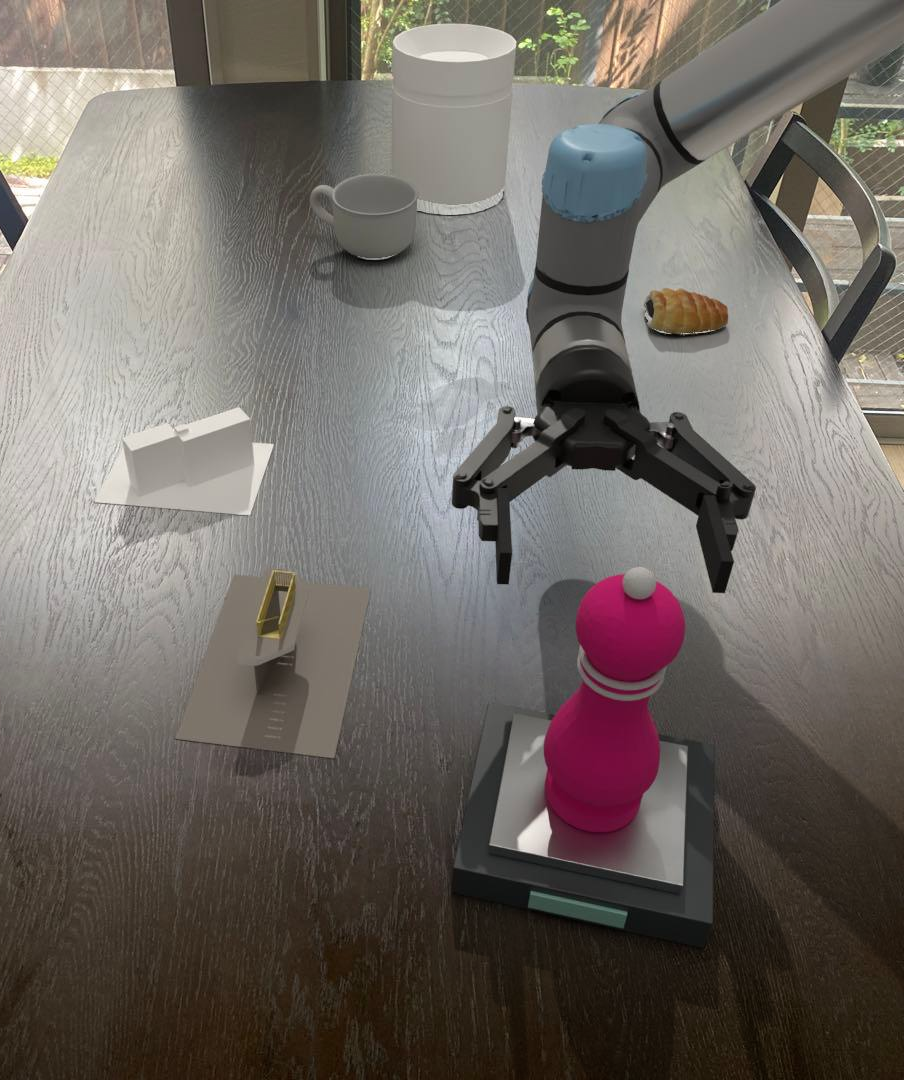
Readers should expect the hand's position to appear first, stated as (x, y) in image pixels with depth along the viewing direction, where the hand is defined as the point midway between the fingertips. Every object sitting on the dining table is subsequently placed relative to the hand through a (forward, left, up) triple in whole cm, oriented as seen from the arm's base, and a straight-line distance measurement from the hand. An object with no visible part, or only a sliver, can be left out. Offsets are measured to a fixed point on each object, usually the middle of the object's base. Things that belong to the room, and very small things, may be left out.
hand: (613, 573), depth 68 cm
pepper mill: (-1, +7, -13) cm, 15 cm away
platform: (+24, -3, -18) cm, 30 cm away
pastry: (-5, -64, -18) cm, 67 cm away
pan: (-1, +7, -14) cm, 16 cm away
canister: (+28, -94, -18) cm, 99 cm away
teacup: (+35, -74, -18) cm, 84 cm away
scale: (-1, +7, -17) cm, 19 cm away
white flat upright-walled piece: (+40, -24, -18) cm, 50 cm away
